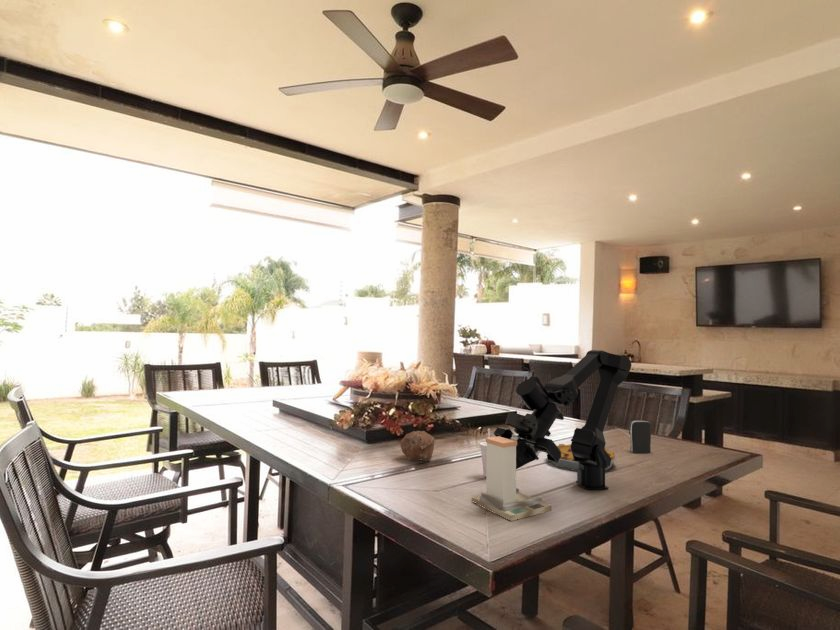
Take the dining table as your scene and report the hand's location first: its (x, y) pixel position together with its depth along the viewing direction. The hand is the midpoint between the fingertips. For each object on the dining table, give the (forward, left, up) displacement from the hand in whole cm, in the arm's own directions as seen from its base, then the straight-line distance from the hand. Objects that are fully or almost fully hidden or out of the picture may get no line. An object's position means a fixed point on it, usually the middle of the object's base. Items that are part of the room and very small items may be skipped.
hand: (508, 471), depth 115 cm
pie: (-36, -36, -9) cm, 52 cm away
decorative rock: (+17, -45, -9) cm, 49 cm away
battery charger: (-65, -49, -9) cm, 82 cm away
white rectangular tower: (+2, +1, -7) cm, 8 cm away
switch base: (-1, 0, -9) cm, 9 cm away
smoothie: (-2, -24, -9) cm, 26 cm away
